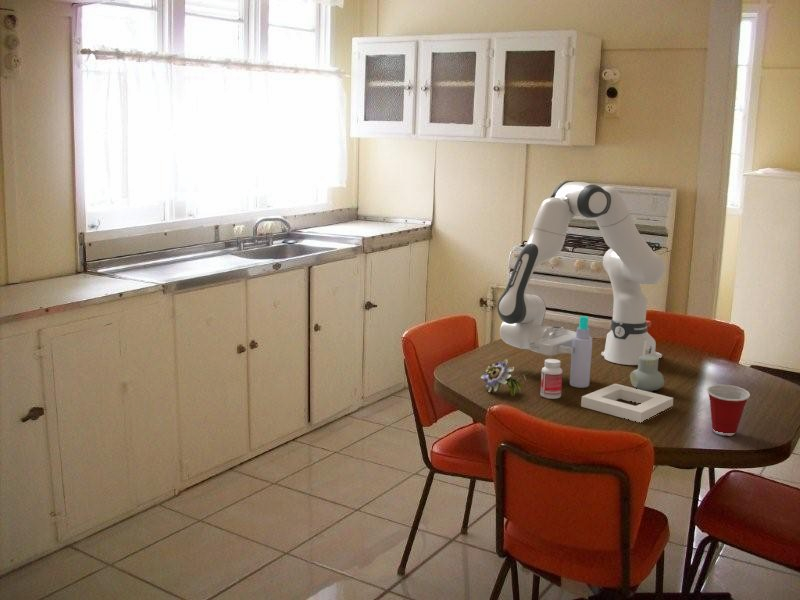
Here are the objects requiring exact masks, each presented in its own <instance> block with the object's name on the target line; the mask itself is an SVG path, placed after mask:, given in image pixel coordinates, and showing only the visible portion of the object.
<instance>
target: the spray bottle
mask: <svg viewBox="0 0 800 600" xmlns="http://www.w3.org/2000/svg"><path fill="white" fill-rule="evenodd" d="M578 324H579V325H578V326H577V328H576V331H575V332H576V336H573V340H572V347H573V348H575V353H573V354H570V355H571V358H570V371H569V386H571V387H574V388H579V389H581V388H583V389H585V388H588V387H589V386H590V379H591V378H590V377H591V367H592V366H591V365H592V364H591V363H592V352H593V350H592V349H593V337H591V336H590V330H591V329H590V327H589V326H588V325H589V317H588V316H585V315H581V316H579V323H578Z"/></svg>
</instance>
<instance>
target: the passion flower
mask: <svg viewBox="0 0 800 600" xmlns="http://www.w3.org/2000/svg"><path fill="white" fill-rule="evenodd" d="M508 363H509V360H508V358H505V359H504V360H503V361H498V362H495V363H493V364H492V363H490V364H489V365H488V366H487V367H486V370H485V371H484V374H482V375H480V379H482V380H484V383H486V385H485V389H488V391H487V393H488V392H491V393H492V392H493V391H494V392H495V393H496V392H498V391H499V389H500V387H501V385H503V386H504V385H507V386H508V389H509V392H510V395H511V396H512V397H514V398H515V397H516V391H517V390H518V394H520V393H521V391H522V385H521V383H520V382H519V380H517V378H518V377H521V376H522V377H523V380H524V381H523V382H524V383H525V382H526V381H527V378H526V376H525V373H524V374H519V375H515V376H512V374H510V373H512V372H514V371H515V367H514V366H512V367H511V366H510V367H507V366H508ZM516 377H517V378H516ZM516 389H517V390H516Z"/></svg>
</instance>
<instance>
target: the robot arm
mask: <svg viewBox="0 0 800 600" xmlns="http://www.w3.org/2000/svg"><path fill="white" fill-rule="evenodd" d="M575 217H581V218H583V217H584V218H587V219H593V218H594V219H595V221H596V222H595V223H596V224H597V226H598V229H599V231H600V233H601V235H602V238H603V240H604V242H605V244H606V245H607V247H609V249H608V250H607V251H606V252H605V253H604V255H603V258H602V266H603V269H604V270H605V273H607V275H608V277H609V281H610V284H611V289H612V294H613V305H612V307H613V308H612V318H611V320H610V331H609V332H608V333H607V334H606V340H605V345H604V350H603V351H601V353H600V355H601V356H602V357H604V360H606V361H608V362H611V363H615V364H618V365H624V366H625V365H627V366H638V361H639V357H640V356H644V355H647V356H654V357H657V358H658V360H660V359H661V358H662V357H663V353H660V352H657V351H656V349H657V348H656V345H657V344H656V343H657V342H656V340H655V338H654V337H653V336H651V334H650V333H649V332H648V327H651V325H652V320H646V319H647V318H646V317H647V307H648V299H647V297H646V295H645V293H644V292H643V290H642V287H641V285H655V284H658V283H659V282H661V281H662V279H663V278H664V277H665V273H666V269H667V268H666V262H665V261H664V259H663V258H662V257H660V256H659V255H658V254H657V253H656V252H655V251H654V250H653V249H652V248H651V247H650V245H648V243H647V241H646V240H645V239H644V238H643V237H642V235H641V234H640V232H639V230H638V229H637V226H636V224H635V222H634V219H633V218H632V215H631V213H630V210H629V208H628V206H627V204H626V201H625V200H624V199H623V197H622V195H621V194H620V192H619V191H618V190H617V188H615V187H614V186H612V185H611V186H610V185H605V186H599V185H597V184H592V183H589V182H585V181H573V180H567V181H563V182H561V183H559V184H558V185H557V186H556V187H555V188H554V190H553V192H552V194H551V196H550V197H548V198H545V199H544V200H543V201H542V202H541V204H540V206H539V208H538V211H537V213H536V216H535V218H534V221H533V224H532V228H531V232H530V234H529V237H528V239H527V242H526V243H525V245H524V246H523V247H522V249H521V250H520V252H519V255H518V257H517V259H516V261H515V264H514V267H513V269H512V272H511V275H510V277H509V280H508V283H507V285H506V288H505V289H504V291H503V293H501V295H500V297H499V299H498V302H497V306H496V309H497V313H498V316H499V319H501V320H502V323H501V324H500V327H499V335H500V338H501V339H502V341H503V342H504V343H505V344H507V345H509V346H511V347H515V348H518V349H522V350H530V351H532V352H534V353H538V354H540V355H544V356H548V357H552V356H556V355H558V354H559V355H560V354H569V355H571V354H573V353H575V348H573V347H572V340H573V336H576V332H577V331H574V330H570V329H565V328H564V327H562V326H549V325H548V326H547V325H543V324H544V319H545V316H546V311H547V307H546V302H545V300H544V299H543V298H542V297H541V296H540V295H537V294H532V293H531V294H529V293H526V292H527V291H528V287H529V285H530V281H531V279H532V277H533V276H532V275H533V273H534V271H536V269H537V267H538V266H540V265H541V264H543V263H545V262H548V261H550V260H552V259H554V258H555V257H558V255H559V254H561V253H560V252H561V251H562V249H563V247H564V245H565V241H566V238H567V237H566V236H567V233H568V230H569V229H568V228H569V224H570V222H571V221H572V219H573V218H575ZM659 358H660V359H659Z"/></svg>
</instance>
